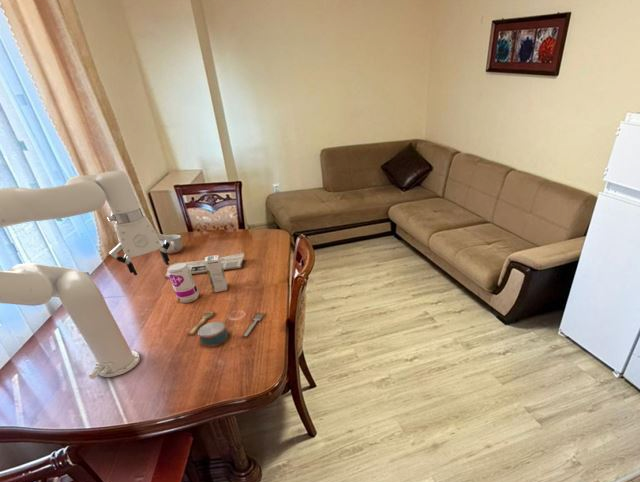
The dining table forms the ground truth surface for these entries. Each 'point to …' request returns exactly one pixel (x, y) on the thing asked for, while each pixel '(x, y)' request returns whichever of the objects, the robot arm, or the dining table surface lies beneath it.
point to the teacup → (173, 244)
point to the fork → (253, 324)
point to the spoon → (202, 321)
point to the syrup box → (216, 273)
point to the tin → (213, 334)
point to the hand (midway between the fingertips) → (151, 268)
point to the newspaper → (226, 262)
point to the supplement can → (182, 282)
